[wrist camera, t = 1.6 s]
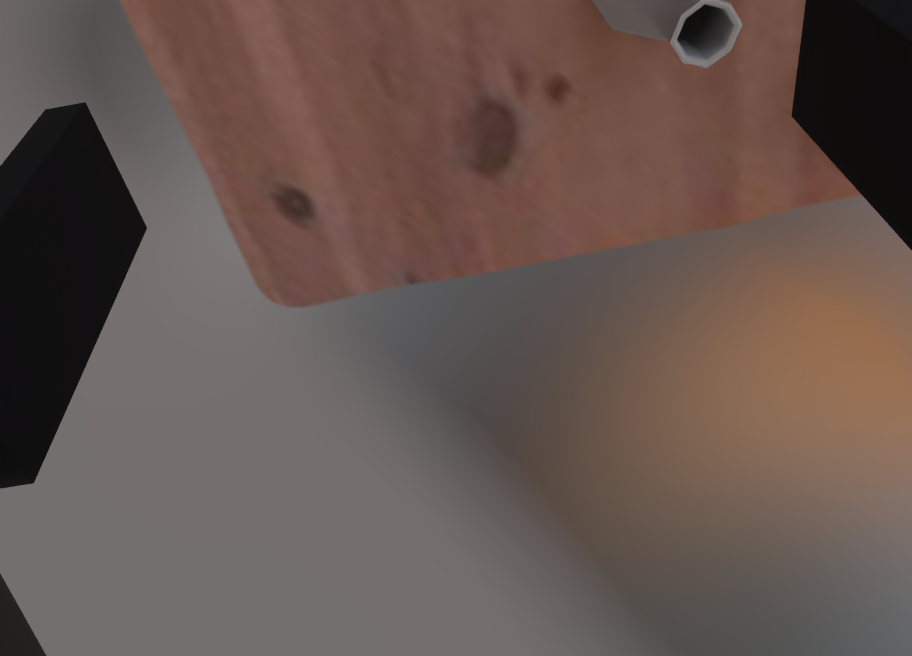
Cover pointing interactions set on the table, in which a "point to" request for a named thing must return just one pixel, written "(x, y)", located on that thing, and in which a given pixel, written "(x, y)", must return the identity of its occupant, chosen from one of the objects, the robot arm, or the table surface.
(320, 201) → the table surface
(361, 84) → the table surface
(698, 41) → the flask
